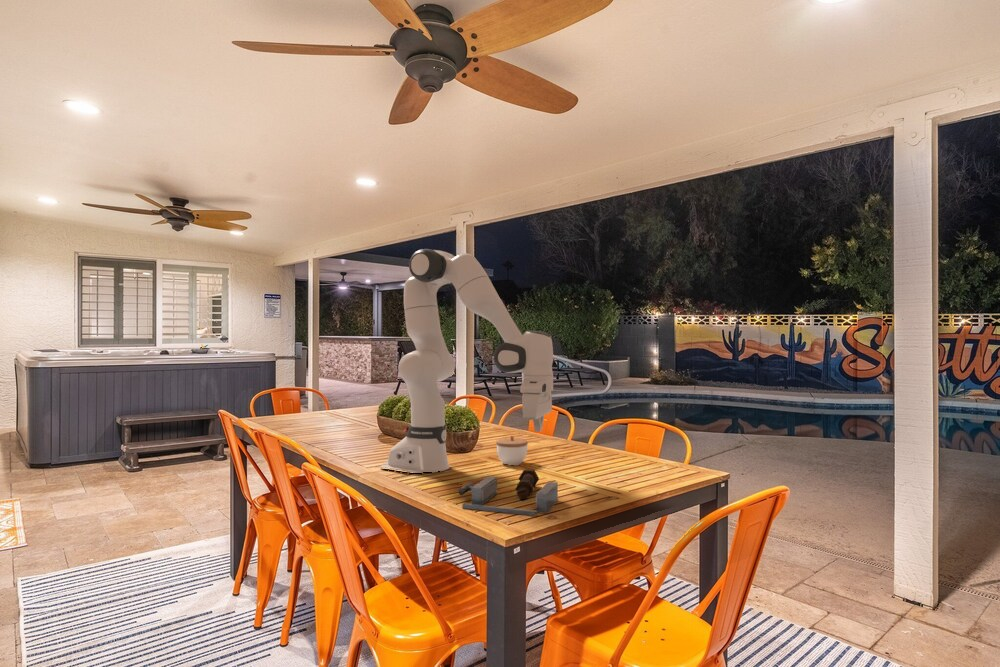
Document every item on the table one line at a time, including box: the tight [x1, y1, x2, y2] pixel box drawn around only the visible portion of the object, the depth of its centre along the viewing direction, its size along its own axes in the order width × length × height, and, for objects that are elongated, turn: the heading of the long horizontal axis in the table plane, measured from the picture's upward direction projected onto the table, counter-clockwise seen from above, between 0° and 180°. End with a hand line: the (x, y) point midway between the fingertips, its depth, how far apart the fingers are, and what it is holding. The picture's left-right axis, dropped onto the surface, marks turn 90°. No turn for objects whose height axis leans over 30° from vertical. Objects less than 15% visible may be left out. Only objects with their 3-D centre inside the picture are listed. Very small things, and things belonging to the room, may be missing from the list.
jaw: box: [457, 476, 498, 505], centre depth 149 cm, size 8×12×4 cm, turn 161°
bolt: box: [515, 468, 540, 500], centre depth 156 cm, size 6×5×15 cm
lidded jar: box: [495, 435, 529, 466], centre depth 192 cm, size 11×11×9 cm
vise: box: [461, 481, 559, 517], centre depth 145 cm, size 21×15×5 cm
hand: (538, 431), depth 168 cm, fingers closed
